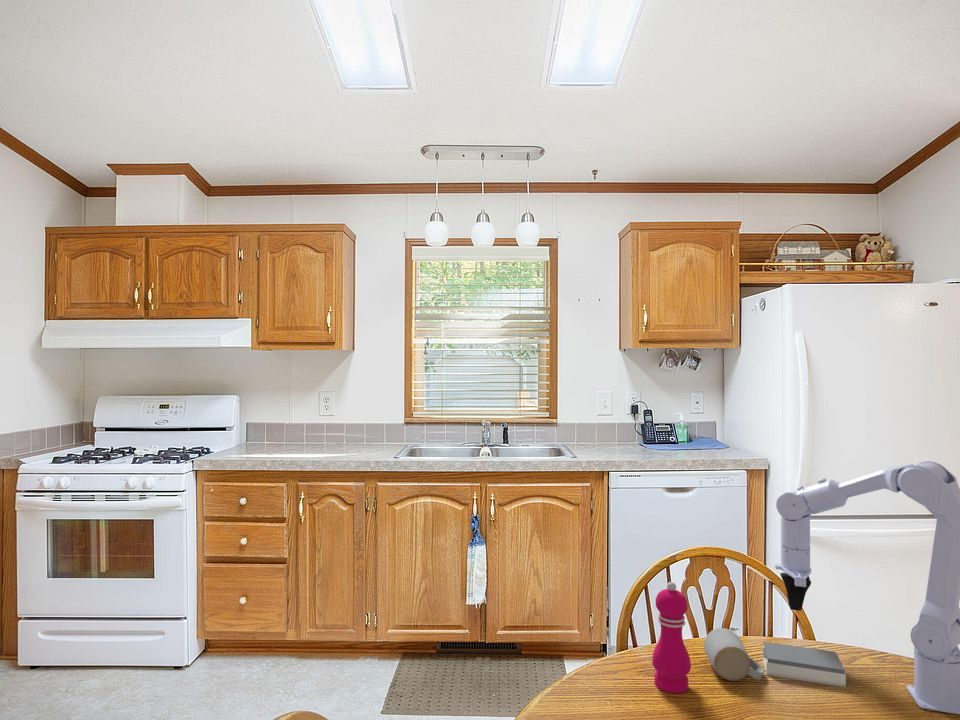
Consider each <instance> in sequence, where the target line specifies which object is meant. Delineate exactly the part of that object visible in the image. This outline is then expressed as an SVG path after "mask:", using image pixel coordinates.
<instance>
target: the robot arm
mask: <svg viewBox="0 0 960 720" xmlns="http://www.w3.org/2000/svg"><path fill="white" fill-rule="evenodd" d="M796 489H797V490H794V491H788V492H785V493H783V494H780V496H778V498H777V499H776V504H775V506H776V510H777V512H778V513H779V515H780V563H775V564H774V568H775V569H776V570H781V571H782V572H780V573H779V574H780V577H781V580H782V581H783V583H784V586H785V592H786V595H787V597H786V598H787V602H788V606H789V608H790V610H791V611H802V610H803V605H804V602H805V601H804V600H805V597H806V593H807V591H808V589H809V588H810V587H811V585H812V581H811V579H810V575H811V574H812V568H811V515H816V514H820V513H824V512H828V511H831V510H834V509H838V508H842V507H844V506H845V505H846V504H847V502H848V500H849V498H852V497H857V496H860V495H864V494H868V493H872V492H875V491H879V490H889V491H890V492H893V493H899V492H902V493H903V494H904V495H905V496H907V497H908V498H910V499H911V500H913V501H915V502H916V503H918V504H920V505H921V506H923V507H925V509H926V510H927V511H929V512H930V514H931V515H933V517H935V519H936V523H935V529H934V530H935V531H934V536H933V544H932V551H931V558H930V565H929V572H928V578H927V584H926V585H927V586H926V593H925V600H924V602H923V605H922V607H921V610H920V614H919V617H918V621H917V623H916V624H915V625H914V626H913V627H912V629H911V631H910V641H911V643H912V644H913V649H914V650H913V661H914V662H913V663H914V665H913V667H914V669H913V670H914V671H913V673H914V675H913V678H914V681H913V683H914V685H910V684H907V685H906V689H907V690H908V692H909V693H911V694H910V695H911V697H912V698H913V699H914V701H915V703H916V704H917V706H918V707H919V708H920V709H925V710H929V711H937V712H942V713H948V714H953V715H954V714H955V715H960V648H959V647H958V645H960V486H959V483H958V479H957V477H956V476H955V475H954V474H953V473H951V472H950V471H949V469H947V468H946V467H945V466H943V465H942V464H941V463H938V462H935V461H930V460H927V461H921V462H919V463H917V464H915V465H914V464H913V463H912V464H905V465H899V466H892V467H888V468H885V469H881V470H879V471H875V472H872V473H870V474H869V473H868V474H866V475H863V476H859V477H857V478H854V479H850V480H848V481H845V482H839V481H836V480H834V479H826V478H822V479H819V480H818V479H817V483H815V484H812V485H809V486H805V487H804V486H803V485H800V486H799V487H797V488H796Z"/></svg>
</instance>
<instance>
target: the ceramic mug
mask: <svg viewBox="0 0 960 720" xmlns="http://www.w3.org/2000/svg"><path fill="white" fill-rule="evenodd" d="M703 643H704V644H703V647H704V651H705V655H706V656H707V658H708V660H709V662H710V663H711V666H712V668H713V669H714V671H715V672H716V674H718V676H720V677H721V678H722V679H724V680H726V681H729V682H730V681H731V682H737V681H740V680H742V679H745V677H746V676H749V677H750V678H754V679H755V680H756V679H757V680H761V679H762V677H763V676H764V674H765V669H764V668H762V666H761V664H759V663H758V662H757V661H755V660H754V659H753V658H752V657H750V655H749V654H748V652H747V650H746V648H745V647H744V645H743V643H742V640H741V639H740V637H739V635H738V634H736V632H734V631H733V630H731V629H728V628H723V627H719V628H715V629H712V630H711V631H710V632H708V634H707V635H706V637H705V639H704V642H703Z"/></svg>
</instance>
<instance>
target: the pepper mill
mask: <svg viewBox="0 0 960 720" xmlns="http://www.w3.org/2000/svg"><path fill="white" fill-rule="evenodd" d="M688 606H689V605H688V600H687V597H686V596H685V594H683V593H682V592H681V591H680V590H677V585H676V583H675V582H673V581H669V582H668V583H667V584H666V588H665V589H662V590H660V591H659V592H658V593H657V594H656V597H655V607H656V609H657V610H658V613H657V617H658V619H657V620H658V623H659V624H660V634H659V635H660V636H659V639H658V641H657V643H656V645H655V647H654V649H653V653H652V659H651V663H652V666H653V668H654V670H655V672H654V685H655V686H656V687H657V688H658V689H660V690H661V691H662V692H663V691H664V692H665V693H671V694H682V693H683V694H684V693H685V692H686V691H688V689H689V677H688V676H687V675H688V674H689V673H690V671H691V669H692V666H691V658H690V655H689V653H688V650H687V648H686V645H685V644H684V639H683V627H684V626H685V625H686V621H685V620H686V617H685V614H686V613H687V612H688Z"/></svg>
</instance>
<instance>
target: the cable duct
mask: <svg viewBox="0 0 960 720" xmlns="http://www.w3.org/2000/svg"><path fill="white" fill-rule="evenodd" d="M762 661H763V664H764V671H765V673H766V674H765V675H766V676H772V677H779V678H784V679H785V678H786V679H792V680H798V681H803V682H810V683H817V684H823V685H827V686H835V687H841V688H847V674H846V673H845V674H841V673H834V672H828V671H821V670H815V669H808V668H802V667H795V666H789V665H782V664H776V663H769V662H768V661H767V657H766V653H765V649H764V645H762Z"/></svg>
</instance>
